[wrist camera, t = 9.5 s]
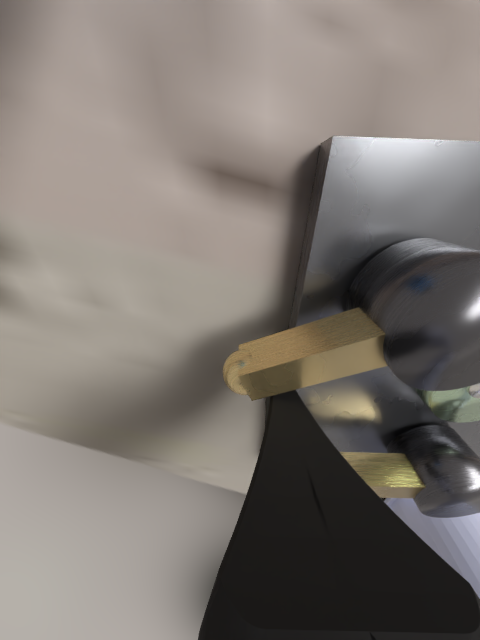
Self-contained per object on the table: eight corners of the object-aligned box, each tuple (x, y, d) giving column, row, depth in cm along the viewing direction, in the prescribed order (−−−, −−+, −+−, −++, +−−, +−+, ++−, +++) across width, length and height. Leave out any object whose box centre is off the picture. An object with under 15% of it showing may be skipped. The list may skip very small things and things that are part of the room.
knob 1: (467, 218, 7) (600, 233, 5) (454, 318, 10) (541, 370, 7) (207, 311, 9) (193, 360, 7) (243, 378, 12) (244, 436, 9)
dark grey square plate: (503, 455, 18) (537, 489, 16) (267, 450, 18) (270, 483, 16) (867, 163, 8) (1092, 153, 6) (320, 143, 8) (350, 125, 6)
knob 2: (471, 425, 14) (530, 485, 11) (436, 461, 16) (477, 518, 13) (312, 421, 13) (330, 481, 11) (300, 458, 16) (312, 515, 13)
